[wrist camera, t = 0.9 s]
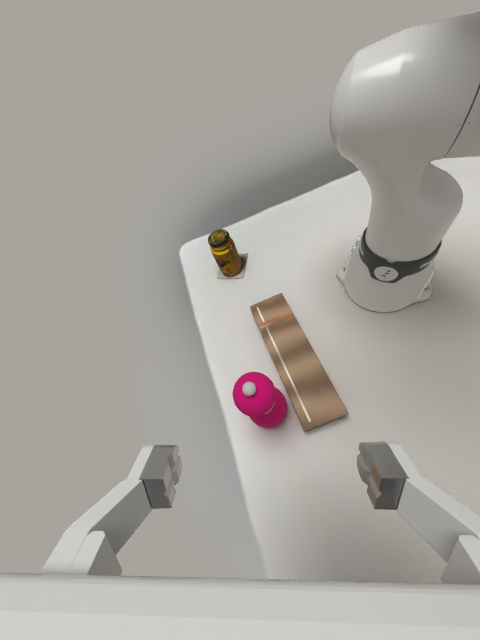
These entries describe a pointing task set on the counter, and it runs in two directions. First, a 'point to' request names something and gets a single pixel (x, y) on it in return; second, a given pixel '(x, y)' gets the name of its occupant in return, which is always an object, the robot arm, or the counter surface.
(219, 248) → the condiment
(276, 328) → the board
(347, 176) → the counter surface
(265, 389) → the pepper mill
